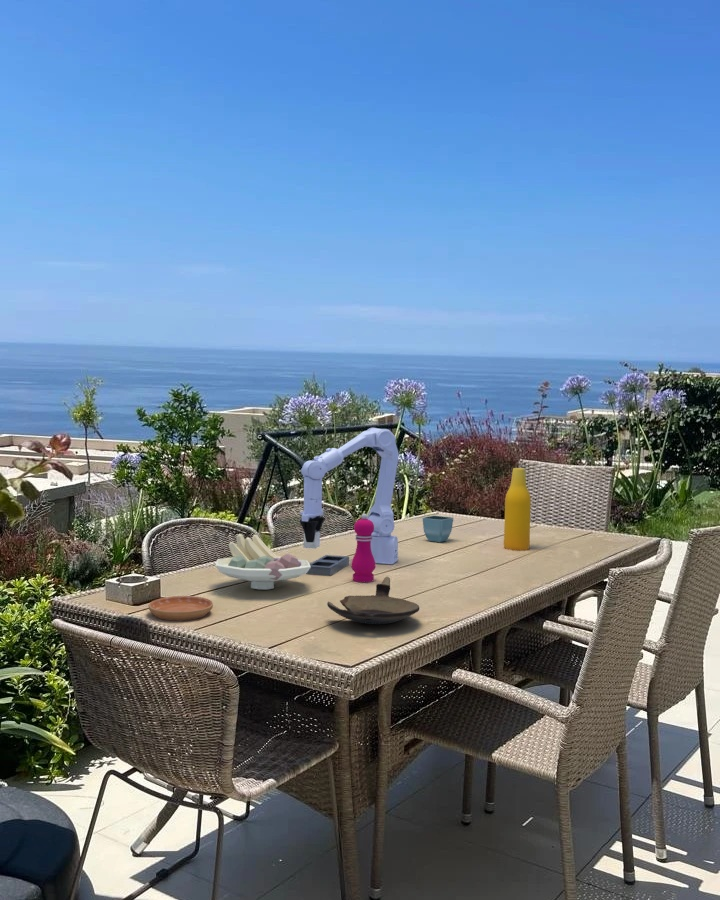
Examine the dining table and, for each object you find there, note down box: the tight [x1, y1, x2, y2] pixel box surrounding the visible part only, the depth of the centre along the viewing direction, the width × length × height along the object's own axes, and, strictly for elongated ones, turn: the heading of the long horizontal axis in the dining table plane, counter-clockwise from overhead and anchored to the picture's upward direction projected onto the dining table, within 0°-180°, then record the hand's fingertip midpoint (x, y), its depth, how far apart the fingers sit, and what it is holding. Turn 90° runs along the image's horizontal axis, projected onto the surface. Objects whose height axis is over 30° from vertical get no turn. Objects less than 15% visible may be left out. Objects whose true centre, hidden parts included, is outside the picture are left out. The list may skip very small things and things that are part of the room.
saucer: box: [148, 595, 214, 621], centre depth 228 cm, size 16×16×3 cm
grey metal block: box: [303, 530, 321, 549], centre depth 288 cm, size 4×4×5 cm
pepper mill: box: [351, 513, 376, 583], centre depth 270 cm, size 7×7×20 cm
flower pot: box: [422, 515, 454, 543], centre depth 340 cm, size 9×9×9 cm
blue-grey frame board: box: [305, 554, 350, 577], centre depth 286 cm, size 8×19×2 cm, turn 163°
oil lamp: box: [327, 576, 420, 625], centre depth 226 cm, size 22×30×8 cm
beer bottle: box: [503, 467, 532, 551], centre depth 327 cm, size 9×9×29 cm
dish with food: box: [215, 533, 311, 590], centre depth 258 cm, size 28×28×14 cm
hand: (312, 540), depth 288 cm, fingers closed on grey metal block, 4 cm apart
